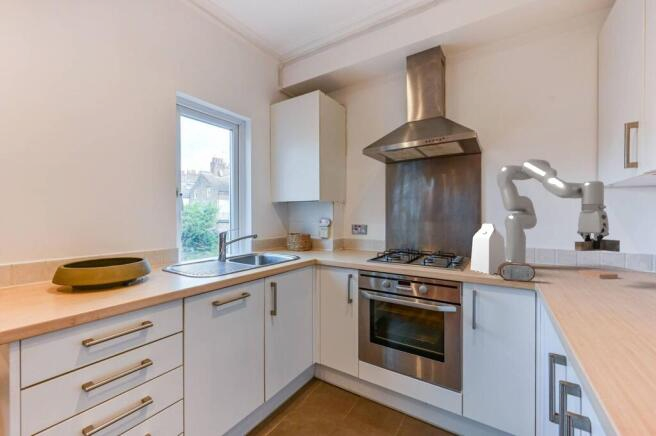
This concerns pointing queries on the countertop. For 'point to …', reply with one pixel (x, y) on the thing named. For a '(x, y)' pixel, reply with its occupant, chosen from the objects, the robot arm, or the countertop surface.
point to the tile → (598, 274)
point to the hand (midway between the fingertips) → (592, 248)
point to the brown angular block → (604, 245)
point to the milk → (487, 250)
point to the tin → (516, 271)
